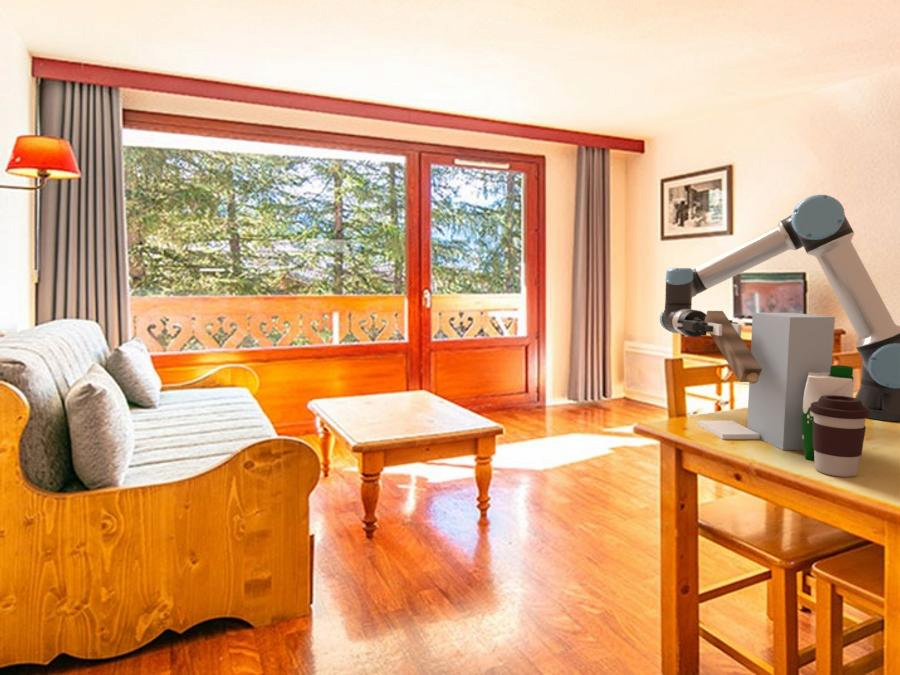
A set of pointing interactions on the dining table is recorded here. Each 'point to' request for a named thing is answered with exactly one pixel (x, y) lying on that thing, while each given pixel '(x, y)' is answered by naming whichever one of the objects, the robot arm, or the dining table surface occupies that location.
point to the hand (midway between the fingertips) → (730, 330)
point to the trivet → (728, 430)
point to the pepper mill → (734, 349)
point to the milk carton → (819, 386)
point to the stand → (786, 372)
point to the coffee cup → (838, 434)
